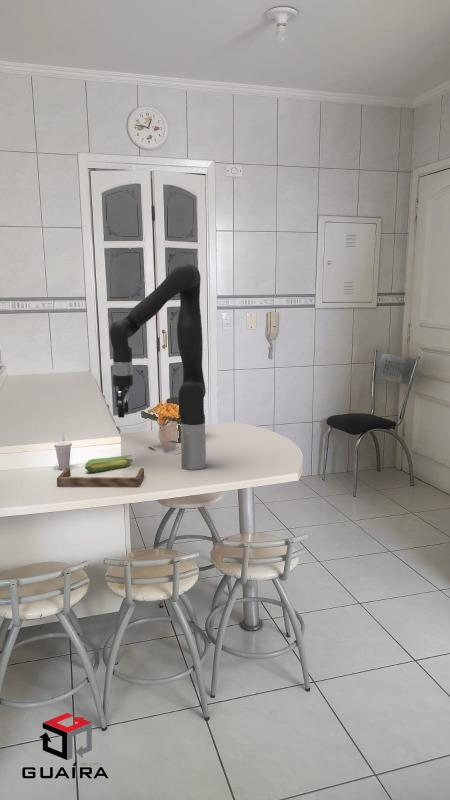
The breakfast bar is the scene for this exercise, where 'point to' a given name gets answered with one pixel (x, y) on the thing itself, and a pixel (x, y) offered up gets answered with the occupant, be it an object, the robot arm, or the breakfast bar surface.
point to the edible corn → (108, 463)
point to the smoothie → (63, 453)
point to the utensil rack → (98, 480)
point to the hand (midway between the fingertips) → (123, 415)
